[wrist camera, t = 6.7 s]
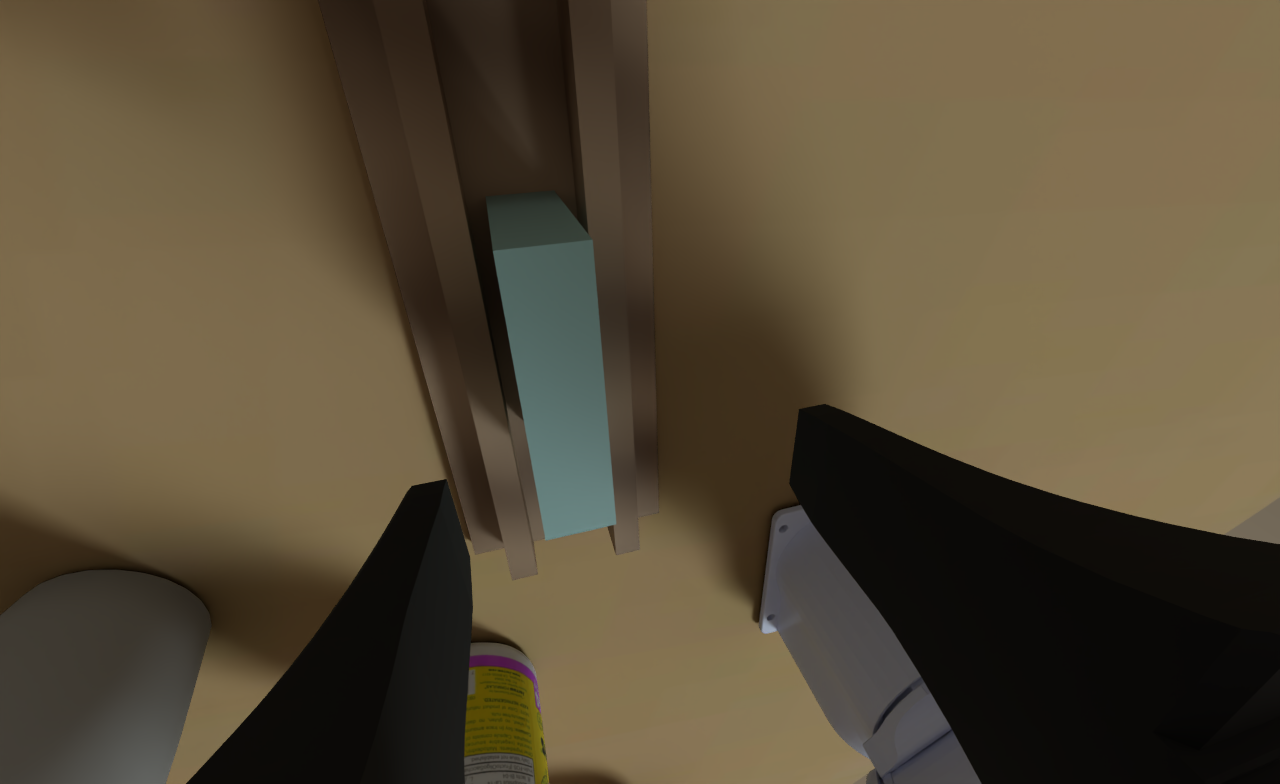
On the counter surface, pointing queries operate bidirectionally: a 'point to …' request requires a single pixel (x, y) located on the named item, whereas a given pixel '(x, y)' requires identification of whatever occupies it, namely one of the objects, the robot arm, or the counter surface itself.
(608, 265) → the track
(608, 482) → the teal rectangular block
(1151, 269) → the counter surface
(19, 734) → the cup
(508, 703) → the supplement bottle
